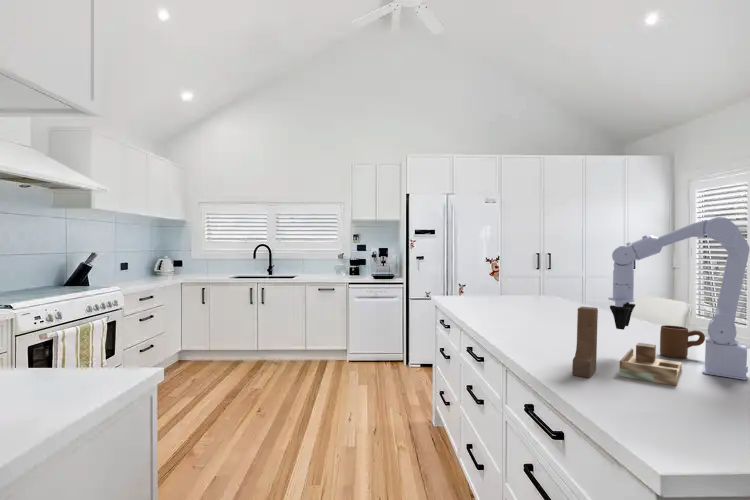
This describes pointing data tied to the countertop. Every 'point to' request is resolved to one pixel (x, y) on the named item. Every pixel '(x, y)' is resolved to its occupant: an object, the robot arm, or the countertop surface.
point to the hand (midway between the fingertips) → (622, 327)
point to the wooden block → (586, 342)
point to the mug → (677, 341)
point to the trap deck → (650, 369)
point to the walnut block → (645, 352)
